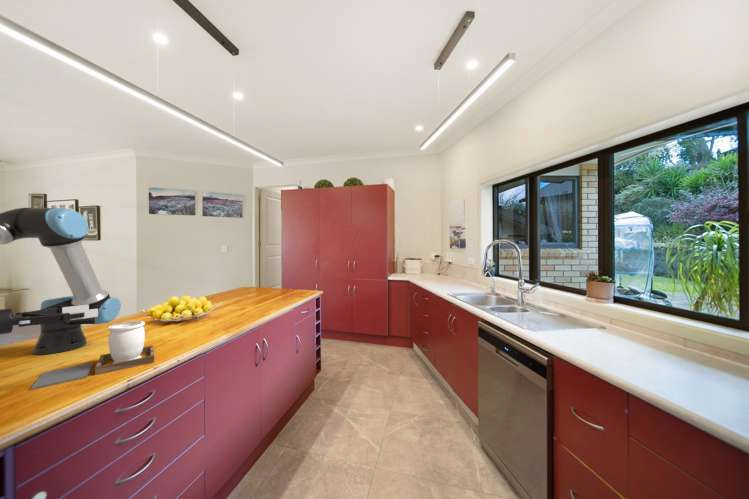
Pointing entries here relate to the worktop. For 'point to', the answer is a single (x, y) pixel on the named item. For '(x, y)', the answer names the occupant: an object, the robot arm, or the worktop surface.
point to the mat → (62, 375)
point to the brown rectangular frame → (125, 364)
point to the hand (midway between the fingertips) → (93, 310)
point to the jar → (126, 340)
